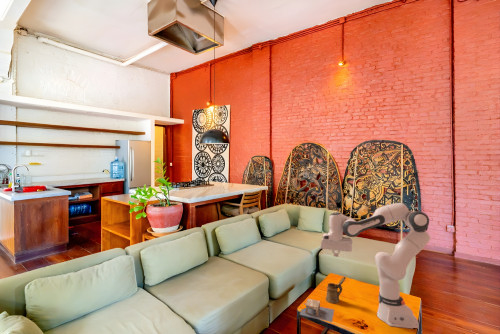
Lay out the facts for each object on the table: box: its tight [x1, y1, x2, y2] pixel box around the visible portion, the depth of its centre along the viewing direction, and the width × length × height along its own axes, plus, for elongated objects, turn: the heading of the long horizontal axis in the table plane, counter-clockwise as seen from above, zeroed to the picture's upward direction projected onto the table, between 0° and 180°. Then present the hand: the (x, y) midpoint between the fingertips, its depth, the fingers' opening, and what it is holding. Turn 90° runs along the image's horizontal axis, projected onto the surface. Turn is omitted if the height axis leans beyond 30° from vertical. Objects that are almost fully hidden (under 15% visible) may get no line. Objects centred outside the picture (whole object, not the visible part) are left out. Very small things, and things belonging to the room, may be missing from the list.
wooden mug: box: [325, 276, 346, 304], centre depth 180 cm, size 9×14×18 cm, turn 72°
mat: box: [299, 303, 335, 323], centre depth 167 cm, size 20×14×1 cm
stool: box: [305, 298, 321, 316], centre depth 168 cm, size 6×8×8 cm
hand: (336, 256), depth 175 cm, fingers closed
